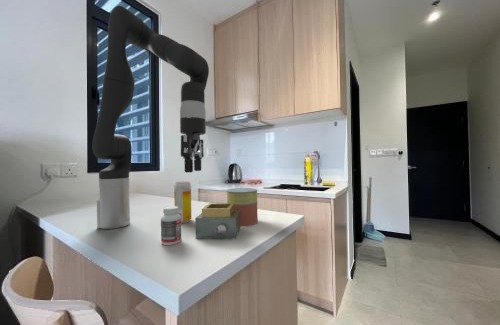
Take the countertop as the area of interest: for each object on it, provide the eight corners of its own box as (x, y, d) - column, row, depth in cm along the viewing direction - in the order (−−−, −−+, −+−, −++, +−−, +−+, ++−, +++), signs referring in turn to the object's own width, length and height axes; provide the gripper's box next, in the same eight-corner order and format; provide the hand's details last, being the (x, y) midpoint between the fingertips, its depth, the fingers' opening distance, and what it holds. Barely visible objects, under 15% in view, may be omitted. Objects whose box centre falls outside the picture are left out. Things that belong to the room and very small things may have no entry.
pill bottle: (181, 244, 59) (180, 208, 59) (160, 246, 57) (159, 210, 57) (181, 237, 64) (181, 205, 64) (162, 239, 62) (161, 206, 62)
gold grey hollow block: (193, 240, 61) (192, 211, 61) (205, 227, 73) (204, 202, 73) (234, 241, 60) (234, 211, 60) (240, 228, 72) (239, 202, 72)
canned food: (262, 220, 82) (262, 188, 82) (249, 228, 71) (248, 192, 71) (236, 217, 87) (236, 187, 86) (221, 224, 76) (220, 191, 76)
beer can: (193, 219, 85) (193, 181, 84) (187, 223, 78) (187, 182, 78) (179, 218, 85) (178, 181, 85) (172, 223, 79) (171, 182, 79)
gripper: (188, 122, 72) (189, 170, 72) (171, 113, 58) (171, 173, 58) (210, 122, 72) (211, 170, 72) (198, 112, 58) (198, 172, 58)
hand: (193, 171), depth 65 cm, fingers open, 8 cm apart
